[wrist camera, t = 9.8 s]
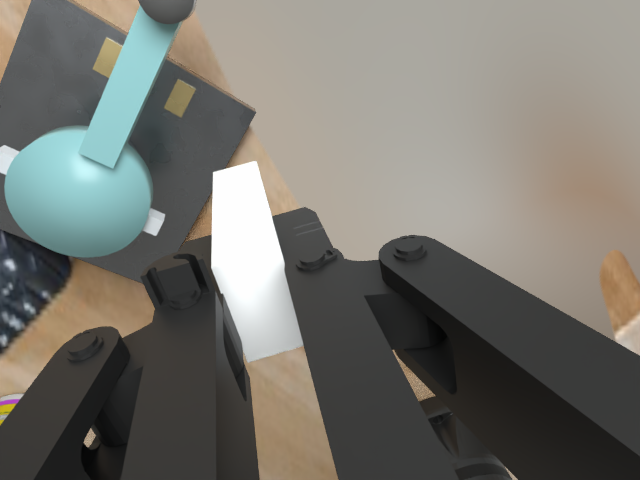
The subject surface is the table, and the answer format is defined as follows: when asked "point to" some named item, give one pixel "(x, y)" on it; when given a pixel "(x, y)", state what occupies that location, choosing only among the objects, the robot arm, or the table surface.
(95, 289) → the table surface
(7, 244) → the table surface
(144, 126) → the post base
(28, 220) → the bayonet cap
